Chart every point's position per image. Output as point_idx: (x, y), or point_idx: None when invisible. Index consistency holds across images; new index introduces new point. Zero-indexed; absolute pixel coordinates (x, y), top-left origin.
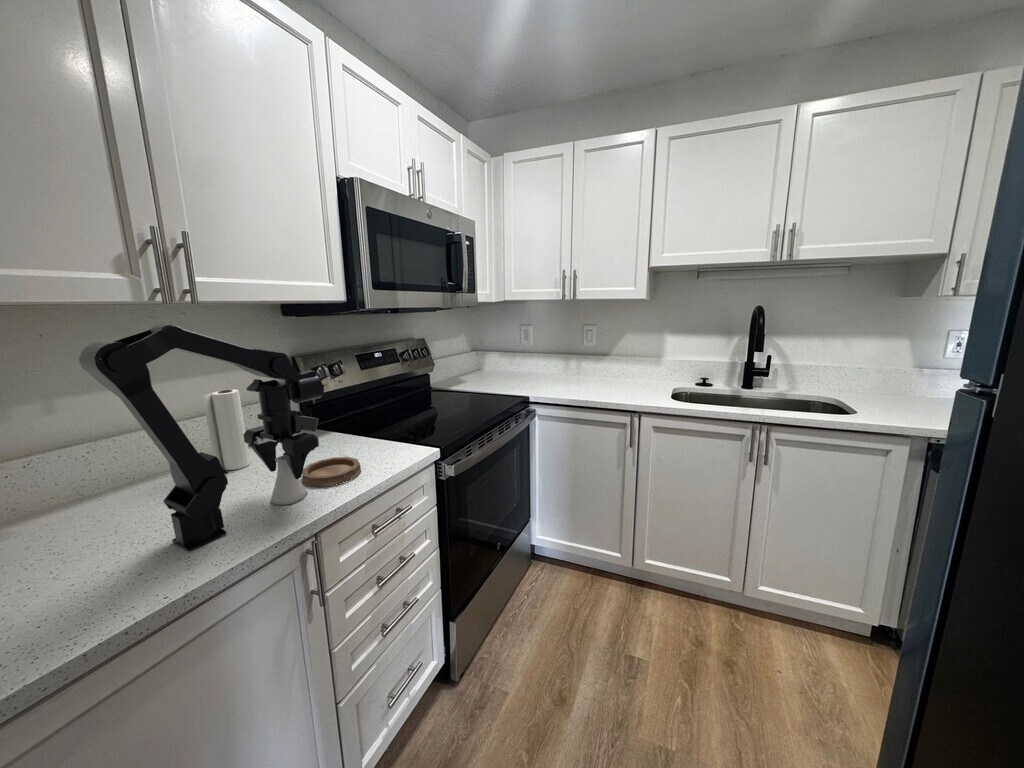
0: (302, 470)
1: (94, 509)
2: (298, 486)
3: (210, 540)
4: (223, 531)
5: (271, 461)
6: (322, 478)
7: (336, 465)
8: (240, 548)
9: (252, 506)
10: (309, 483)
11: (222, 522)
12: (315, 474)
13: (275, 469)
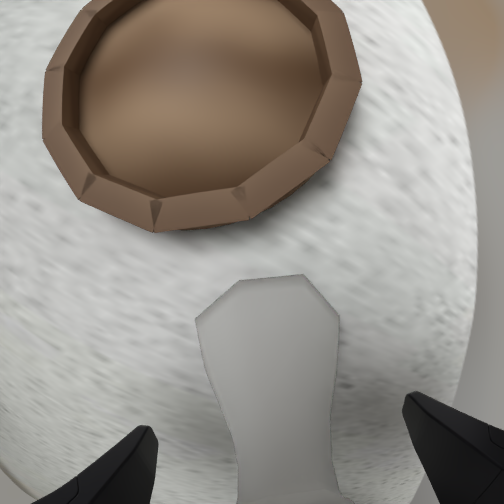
0: (450, 408)
1: (25, 475)
2: (332, 349)
3: None
4: None
5: (135, 486)
6: (302, 179)
7: (128, 24)
8: (402, 465)
9: (214, 427)
10: (224, 224)
11: None
12: (132, 140)
13: (150, 432)
